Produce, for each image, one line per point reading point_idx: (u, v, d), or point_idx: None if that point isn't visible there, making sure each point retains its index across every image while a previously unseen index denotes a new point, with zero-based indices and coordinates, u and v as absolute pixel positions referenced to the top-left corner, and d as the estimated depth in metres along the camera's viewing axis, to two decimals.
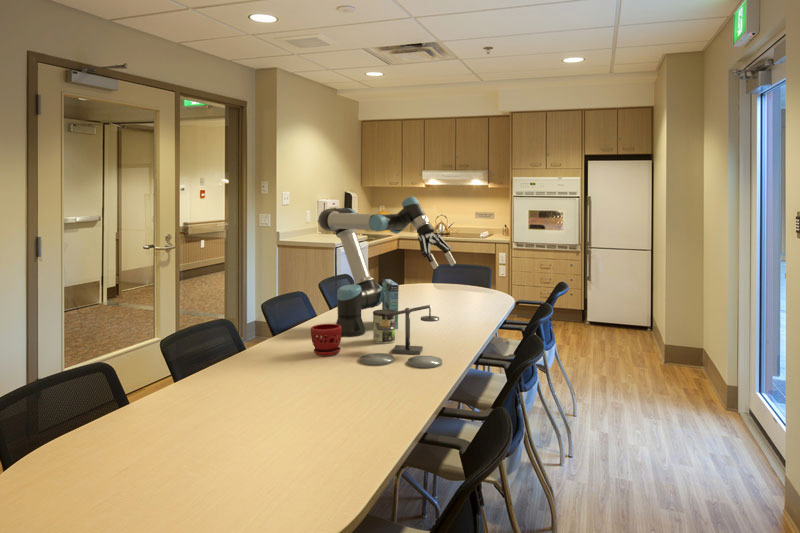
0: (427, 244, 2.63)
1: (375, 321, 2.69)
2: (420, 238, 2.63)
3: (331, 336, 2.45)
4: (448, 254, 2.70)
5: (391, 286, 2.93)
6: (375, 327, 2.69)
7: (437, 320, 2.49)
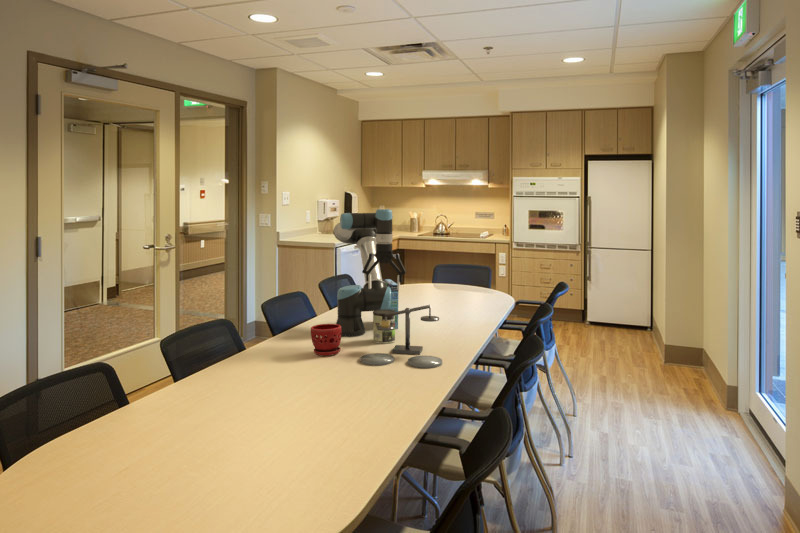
0: (374, 263, 2.69)
1: (375, 321, 2.69)
2: None
3: (331, 336, 2.45)
4: None
5: (391, 286, 2.93)
6: (375, 327, 2.69)
7: (437, 320, 2.49)
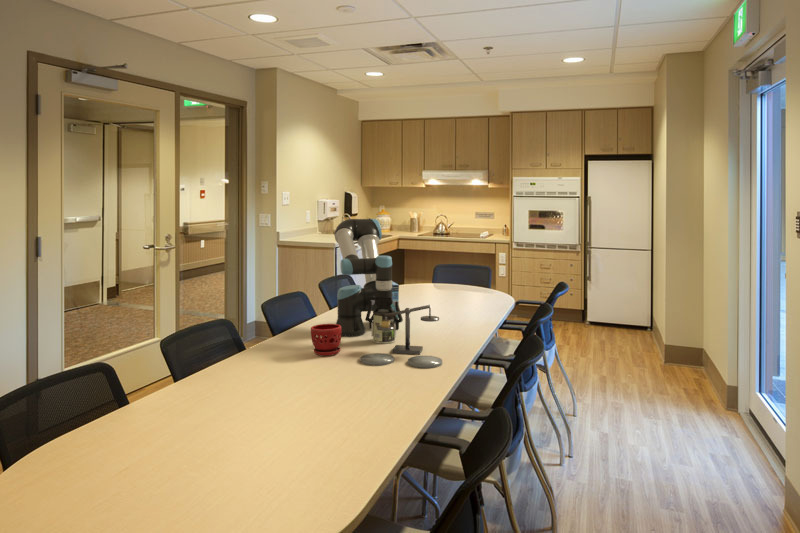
0: (375, 310, 2.71)
1: (375, 321, 2.69)
2: None
3: (331, 336, 2.45)
4: None
5: None
6: (375, 327, 2.69)
7: (437, 320, 2.49)
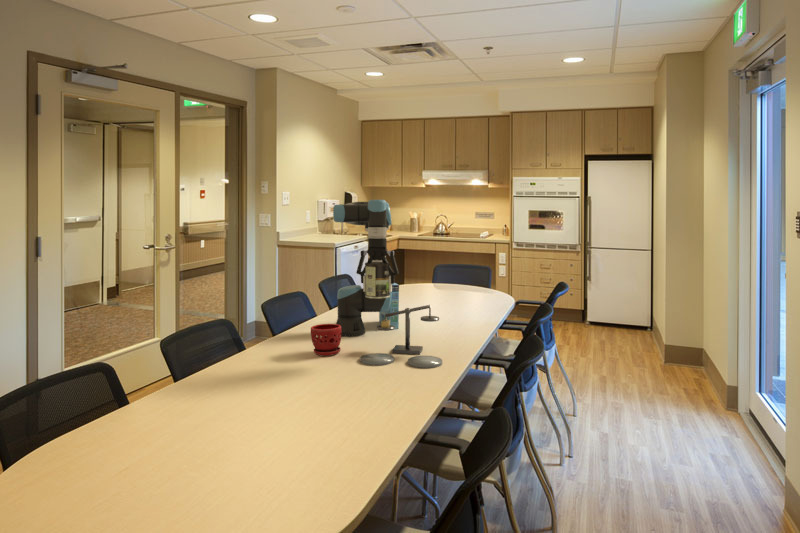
0: (367, 262, 2.40)
1: (367, 273, 2.37)
2: None
3: (331, 336, 2.45)
4: None
5: (392, 286, 2.93)
6: (367, 280, 2.37)
7: (437, 320, 2.49)
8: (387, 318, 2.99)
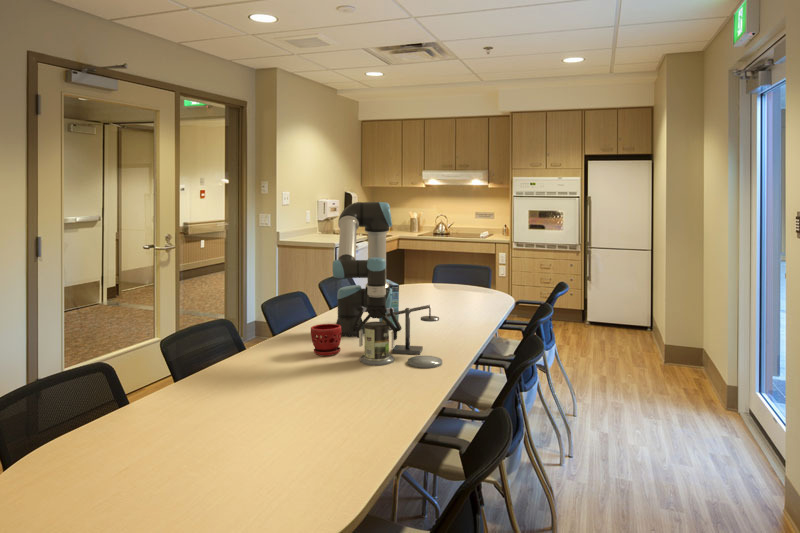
0: (365, 318, 2.39)
1: (366, 335, 2.36)
2: None
3: (331, 336, 2.45)
4: None
5: (392, 286, 2.93)
6: (366, 342, 2.37)
7: (437, 320, 2.49)
8: None
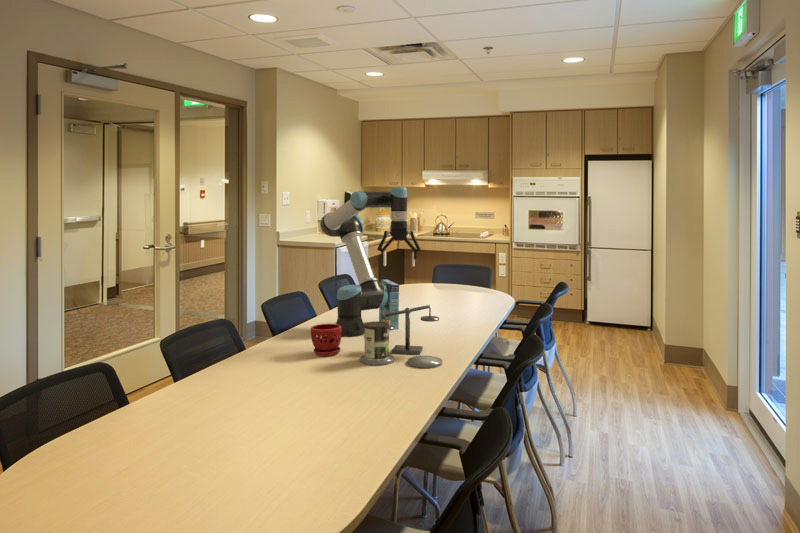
0: None
1: (366, 335, 2.37)
2: None
3: (331, 336, 2.45)
4: None
5: (392, 286, 2.93)
6: (366, 342, 2.37)
7: (437, 320, 2.49)
8: (387, 318, 2.99)
